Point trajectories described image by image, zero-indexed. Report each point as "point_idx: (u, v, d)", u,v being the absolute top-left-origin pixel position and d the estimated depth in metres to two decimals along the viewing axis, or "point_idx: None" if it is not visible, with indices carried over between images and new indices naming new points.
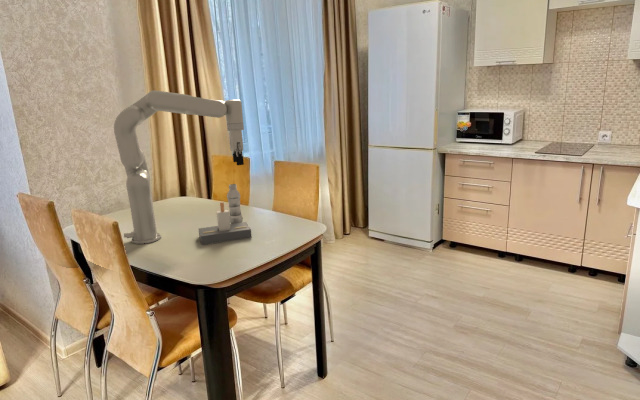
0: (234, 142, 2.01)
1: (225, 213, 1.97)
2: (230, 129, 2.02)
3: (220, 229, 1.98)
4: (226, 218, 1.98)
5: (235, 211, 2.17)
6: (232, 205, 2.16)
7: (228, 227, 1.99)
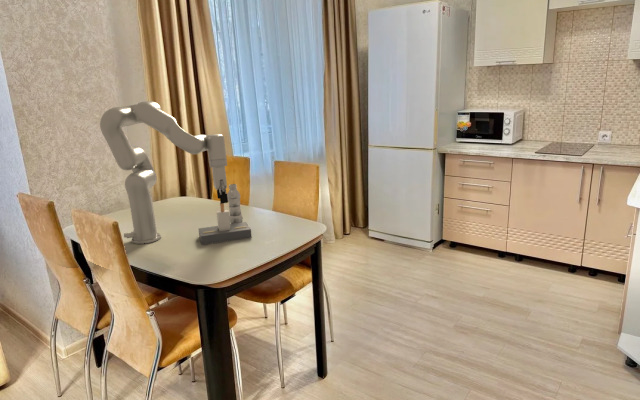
0: (217, 179, 1.90)
1: (225, 213, 1.97)
2: (212, 166, 1.90)
3: (220, 229, 1.98)
4: (226, 218, 1.98)
5: (235, 211, 2.17)
6: (232, 205, 2.16)
7: (228, 227, 1.99)
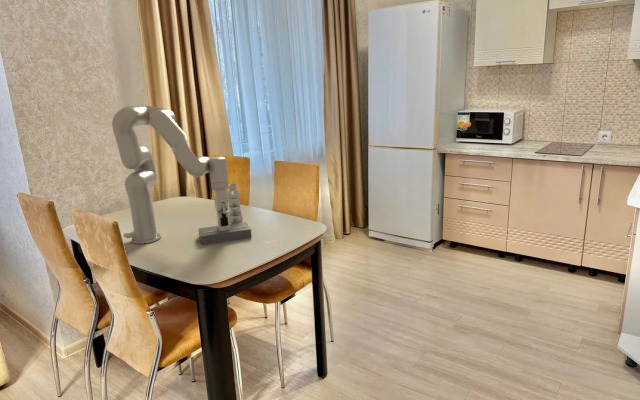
0: (218, 202, 1.92)
1: None
2: (214, 188, 1.93)
3: (220, 229, 1.98)
4: None
5: (235, 211, 2.17)
6: (232, 205, 2.16)
7: (228, 227, 1.99)
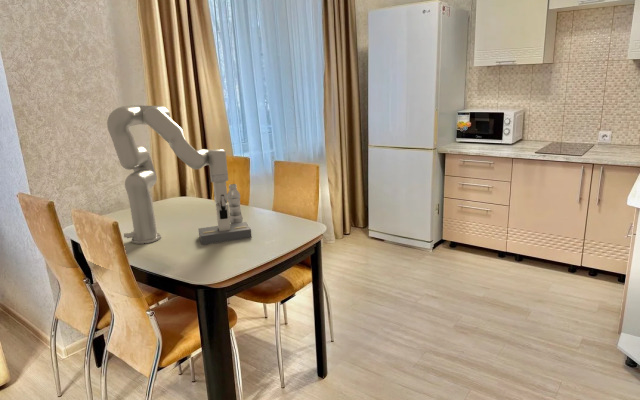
0: (218, 194, 1.91)
1: None
2: (214, 181, 1.92)
3: (219, 222, 1.97)
4: None
5: (235, 211, 2.17)
6: (232, 205, 2.16)
7: (227, 220, 1.98)
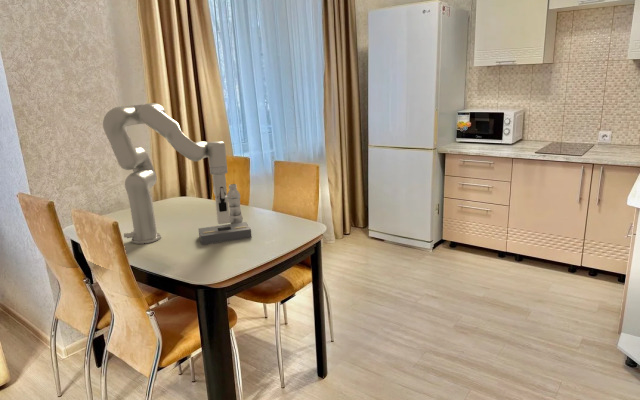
0: (217, 187, 1.91)
1: None
2: (213, 173, 1.91)
3: (219, 214, 1.97)
4: None
5: (235, 211, 2.17)
6: (232, 205, 2.16)
7: (227, 213, 1.98)
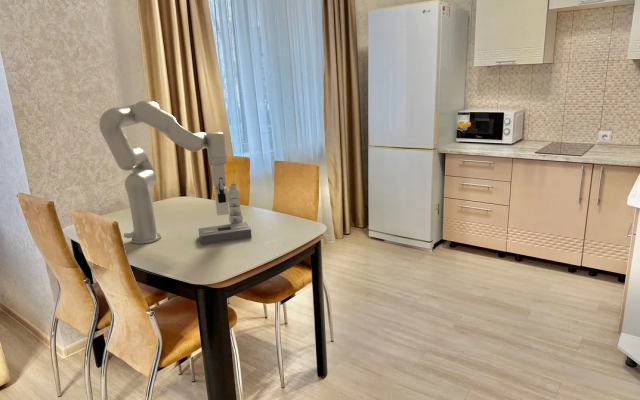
0: (216, 177, 1.89)
1: None
2: (212, 163, 1.90)
3: (218, 206, 1.96)
4: None
5: (235, 211, 2.17)
6: (232, 205, 2.16)
7: (226, 204, 1.97)
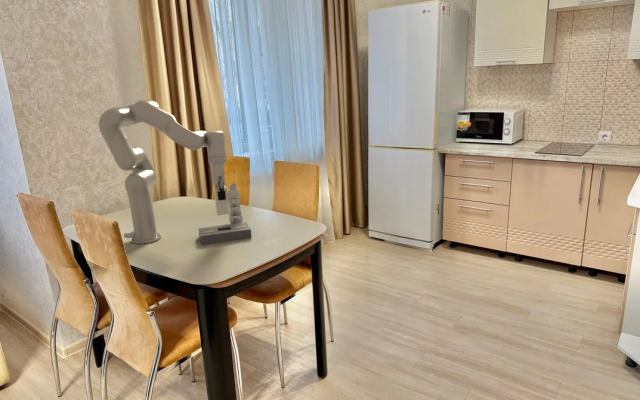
0: (215, 176, 1.89)
1: None
2: (211, 162, 1.90)
3: (218, 206, 1.96)
4: None
5: (235, 211, 2.17)
6: (232, 205, 2.16)
7: (226, 204, 1.97)
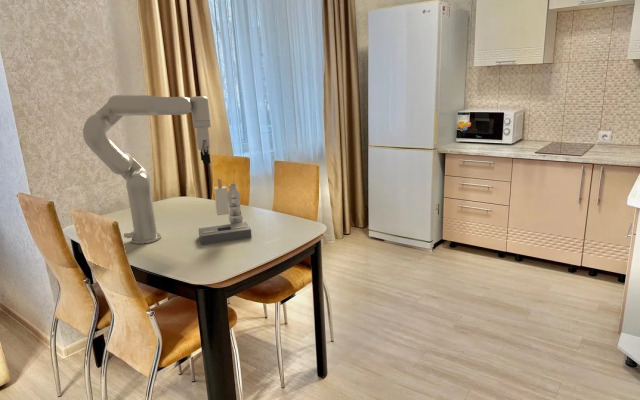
0: (200, 140, 1.96)
1: (223, 189, 1.95)
2: (196, 126, 1.97)
3: (218, 206, 1.96)
4: (223, 194, 1.95)
5: (235, 211, 2.17)
6: (232, 205, 2.16)
7: (226, 204, 1.97)
